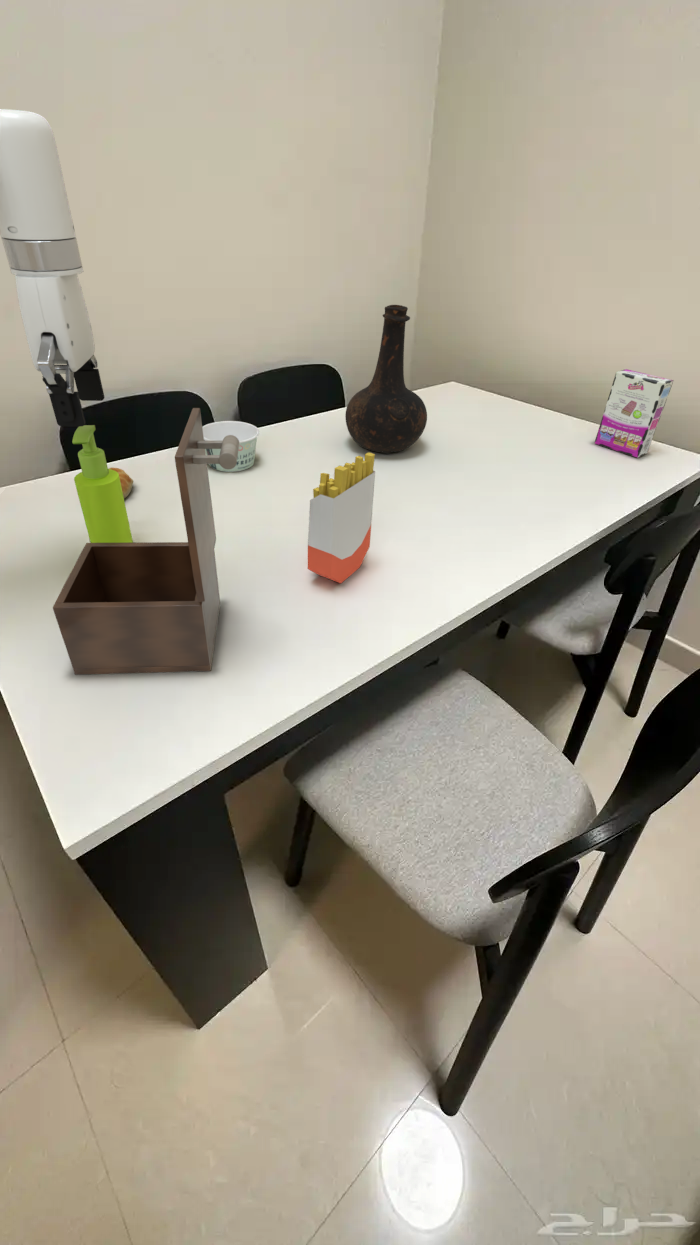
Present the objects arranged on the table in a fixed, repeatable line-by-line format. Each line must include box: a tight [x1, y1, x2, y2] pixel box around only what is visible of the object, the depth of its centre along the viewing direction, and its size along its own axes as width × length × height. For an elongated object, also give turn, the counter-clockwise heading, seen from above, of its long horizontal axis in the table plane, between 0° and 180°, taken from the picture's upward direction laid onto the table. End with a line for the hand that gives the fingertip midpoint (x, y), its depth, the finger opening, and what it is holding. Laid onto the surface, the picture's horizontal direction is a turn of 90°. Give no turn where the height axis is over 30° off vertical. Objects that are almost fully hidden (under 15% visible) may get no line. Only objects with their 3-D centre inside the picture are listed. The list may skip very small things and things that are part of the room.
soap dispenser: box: [71, 424, 134, 543], centre depth 83 cm, size 6×7×20 cm
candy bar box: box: [594, 368, 675, 459], centre depth 131 cm, size 11×5×16 cm, turn 42°
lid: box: [174, 407, 239, 602], centre depth 64 cm, size 17×14×5 cm
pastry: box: [108, 467, 134, 500], centre depth 104 cm, size 9×7×4 cm
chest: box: [52, 541, 221, 675], centre depth 72 cm, size 16×14×10 cm
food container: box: [202, 420, 260, 473], centre depth 117 cm, size 12×12×6 cm
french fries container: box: [307, 451, 376, 584], centre depth 83 cm, size 5×11×18 cm, turn 148°
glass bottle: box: [345, 304, 428, 454], centre depth 122 cm, size 18×18×28 cm
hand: (82, 412), depth 75 cm, fingers open, 9 cm apart
